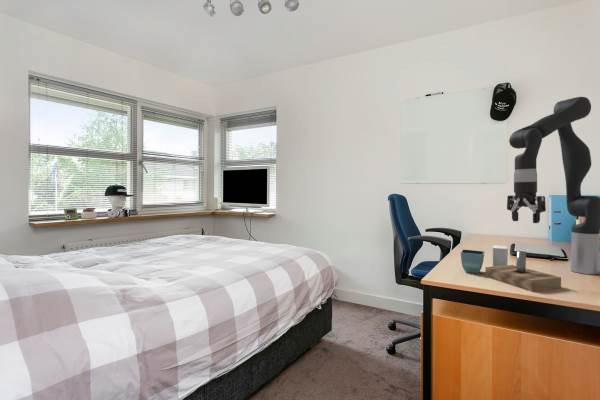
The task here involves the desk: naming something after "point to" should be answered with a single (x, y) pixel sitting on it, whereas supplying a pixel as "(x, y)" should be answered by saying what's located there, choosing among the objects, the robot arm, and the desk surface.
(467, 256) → the flower pot
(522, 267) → the peg
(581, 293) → the desk surface
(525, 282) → the hole block
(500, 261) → the small box
